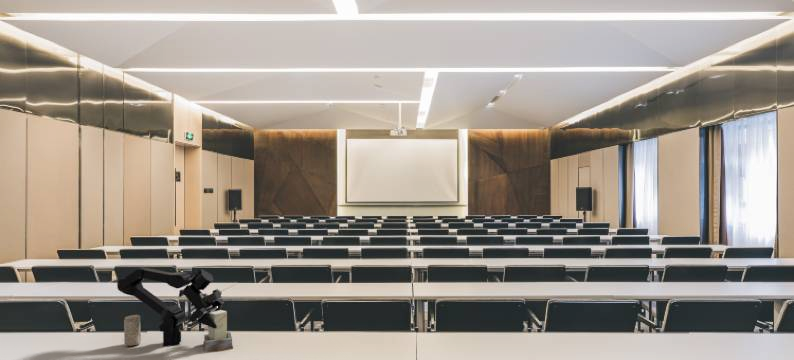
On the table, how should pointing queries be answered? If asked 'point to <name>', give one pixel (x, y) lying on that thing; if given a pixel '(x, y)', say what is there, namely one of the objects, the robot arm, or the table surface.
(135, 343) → the carving
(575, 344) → the table surface
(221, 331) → the skincare box
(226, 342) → the socket
